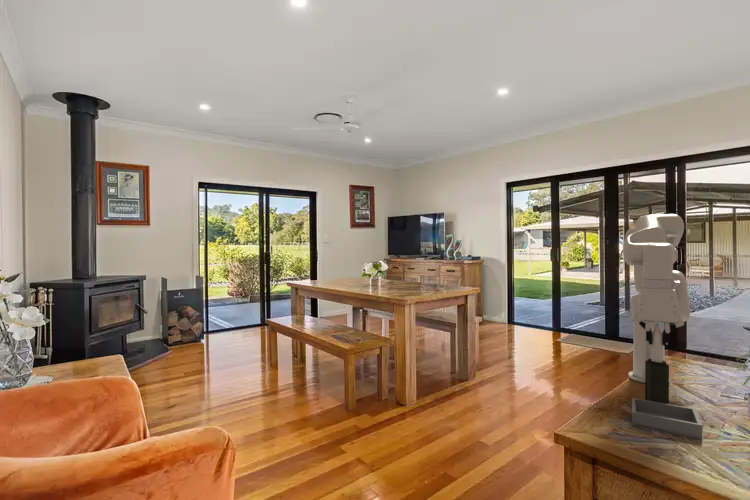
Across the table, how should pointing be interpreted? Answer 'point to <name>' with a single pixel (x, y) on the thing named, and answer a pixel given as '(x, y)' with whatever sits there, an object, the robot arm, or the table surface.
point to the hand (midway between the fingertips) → (657, 343)
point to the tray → (666, 418)
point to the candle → (657, 371)
